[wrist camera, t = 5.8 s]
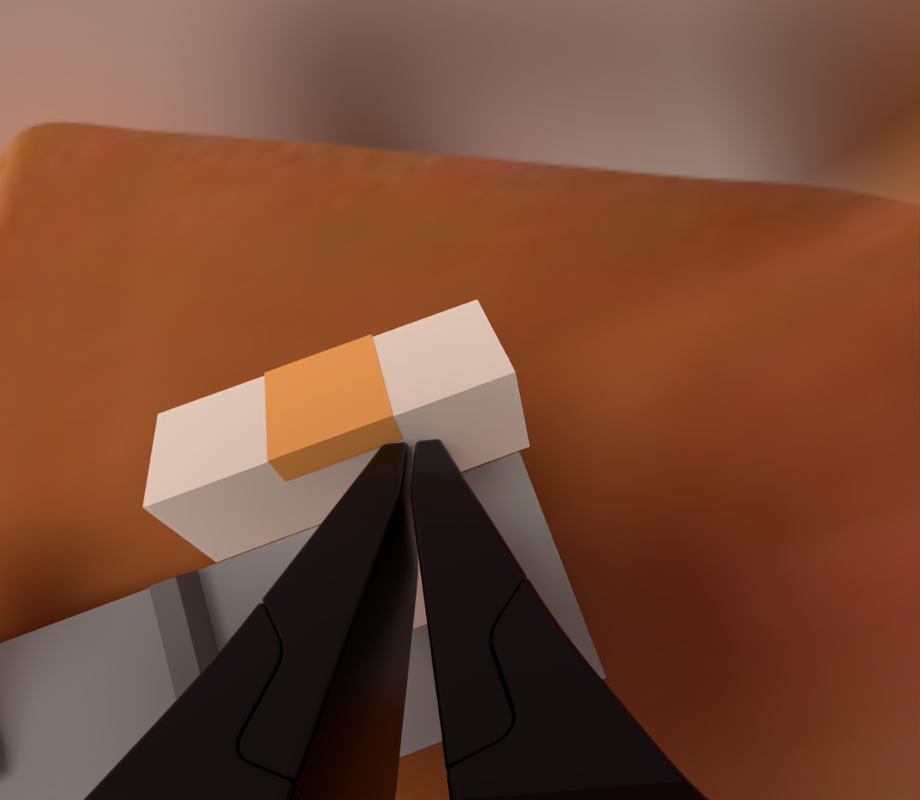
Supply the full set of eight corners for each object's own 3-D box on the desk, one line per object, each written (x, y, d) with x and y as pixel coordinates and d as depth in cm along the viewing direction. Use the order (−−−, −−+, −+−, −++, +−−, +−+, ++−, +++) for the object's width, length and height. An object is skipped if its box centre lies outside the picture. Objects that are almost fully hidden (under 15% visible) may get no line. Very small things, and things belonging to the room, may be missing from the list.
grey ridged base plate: (585, 648, 18) (617, 693, 14) (-28, 882, 18) (-183, 1002, 13) (512, 458, 19) (522, 448, 15) (-63, 670, 19) (-215, 720, 15)
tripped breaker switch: (557, 590, 15) (515, 370, 8) (355, 666, 15) (140, 507, 8) (531, 528, 16) (476, 296, 9) (346, 597, 16) (156, 411, 9)
